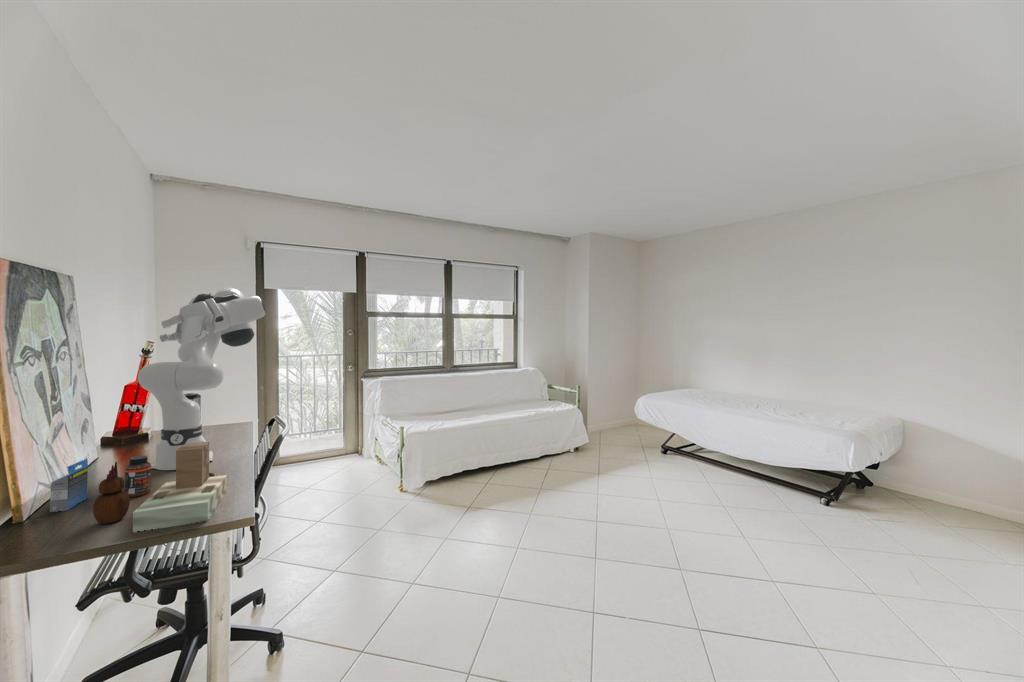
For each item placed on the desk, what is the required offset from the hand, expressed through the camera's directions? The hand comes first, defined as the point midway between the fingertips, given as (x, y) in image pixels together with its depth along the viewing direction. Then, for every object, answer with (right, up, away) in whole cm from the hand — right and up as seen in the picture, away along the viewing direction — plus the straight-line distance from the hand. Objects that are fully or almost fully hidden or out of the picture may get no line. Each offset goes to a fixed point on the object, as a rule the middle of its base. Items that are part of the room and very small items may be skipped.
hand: (161, 332), depth 120 cm
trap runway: (+14, -50, -8) cm, 52 cm away
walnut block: (+11, -45, -2) cm, 46 cm away
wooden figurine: (+1, -50, -16) cm, 52 cm away
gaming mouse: (+5, -50, +10) cm, 52 cm away
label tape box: (-21, -50, -6) cm, 54 cm away
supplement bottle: (-9, -50, +2) cm, 51 cm away
